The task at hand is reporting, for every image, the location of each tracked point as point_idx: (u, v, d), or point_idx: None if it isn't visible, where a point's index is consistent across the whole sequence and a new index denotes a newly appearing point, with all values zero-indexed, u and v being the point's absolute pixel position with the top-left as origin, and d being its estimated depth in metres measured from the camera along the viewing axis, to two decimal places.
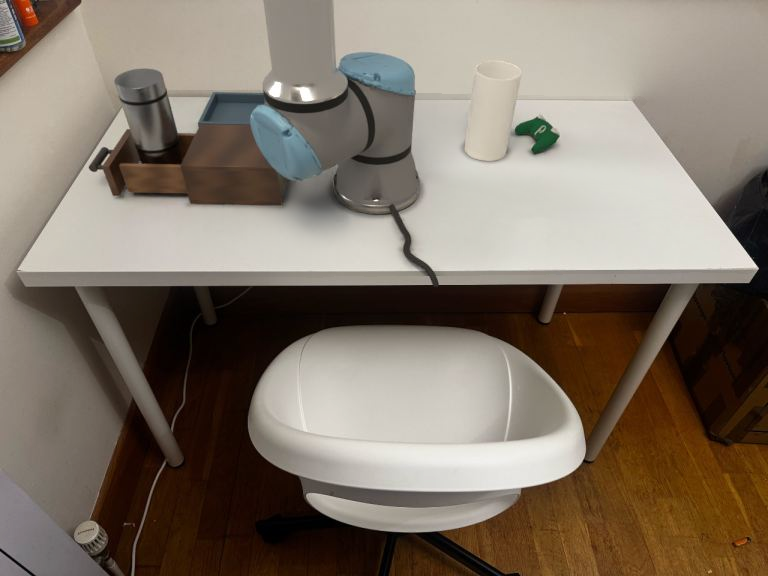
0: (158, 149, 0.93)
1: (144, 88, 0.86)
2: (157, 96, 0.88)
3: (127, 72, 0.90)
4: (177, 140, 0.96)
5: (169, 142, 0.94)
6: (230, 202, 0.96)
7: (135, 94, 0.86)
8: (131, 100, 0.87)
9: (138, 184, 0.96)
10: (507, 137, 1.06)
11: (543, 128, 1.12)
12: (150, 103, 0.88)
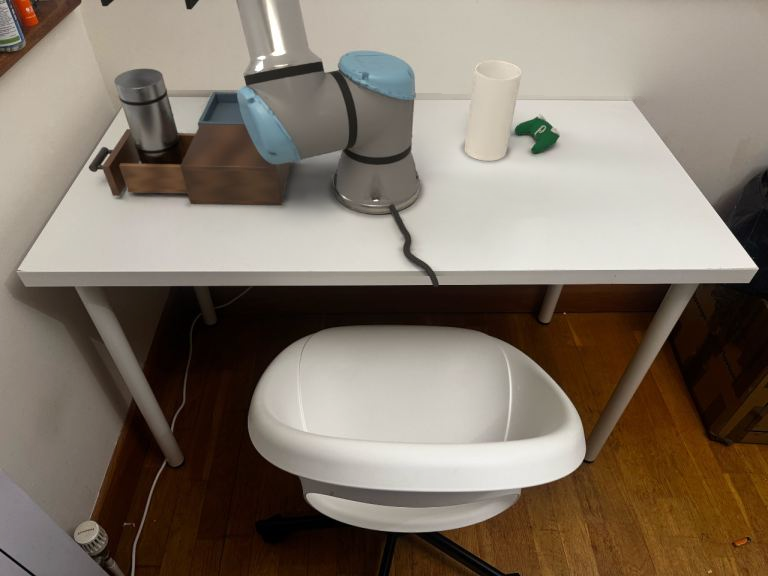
0: (158, 149, 0.93)
1: (144, 88, 0.86)
2: (157, 96, 0.88)
3: (127, 72, 0.90)
4: (177, 140, 0.96)
5: (169, 142, 0.94)
6: (230, 202, 0.96)
7: (135, 94, 0.86)
8: (131, 100, 0.87)
9: (138, 184, 0.96)
10: (507, 137, 1.06)
11: (543, 128, 1.12)
12: (150, 103, 0.88)
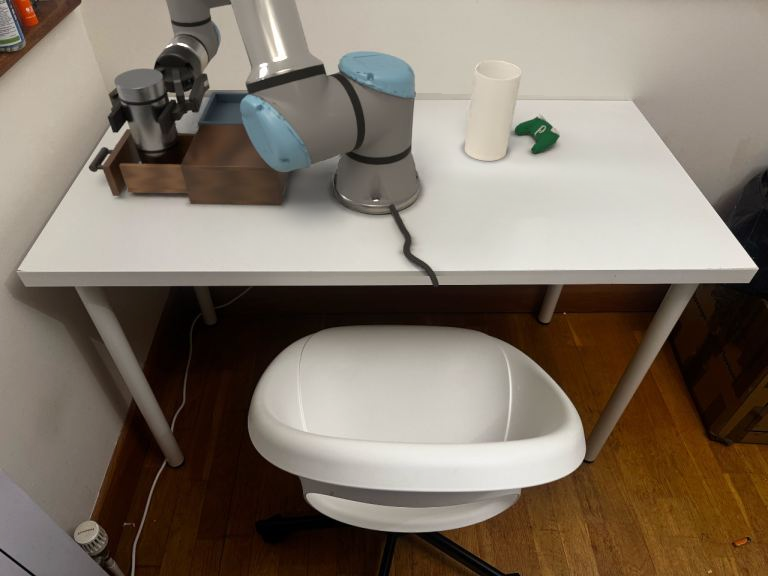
0: (158, 149, 0.93)
1: (144, 88, 0.86)
2: (157, 96, 0.88)
3: (127, 72, 0.90)
4: (177, 140, 0.96)
5: (169, 142, 0.94)
6: (230, 202, 0.96)
7: (135, 94, 0.86)
8: (131, 100, 0.87)
9: (138, 184, 0.96)
10: (507, 137, 1.06)
11: (543, 128, 1.12)
12: (150, 103, 0.88)
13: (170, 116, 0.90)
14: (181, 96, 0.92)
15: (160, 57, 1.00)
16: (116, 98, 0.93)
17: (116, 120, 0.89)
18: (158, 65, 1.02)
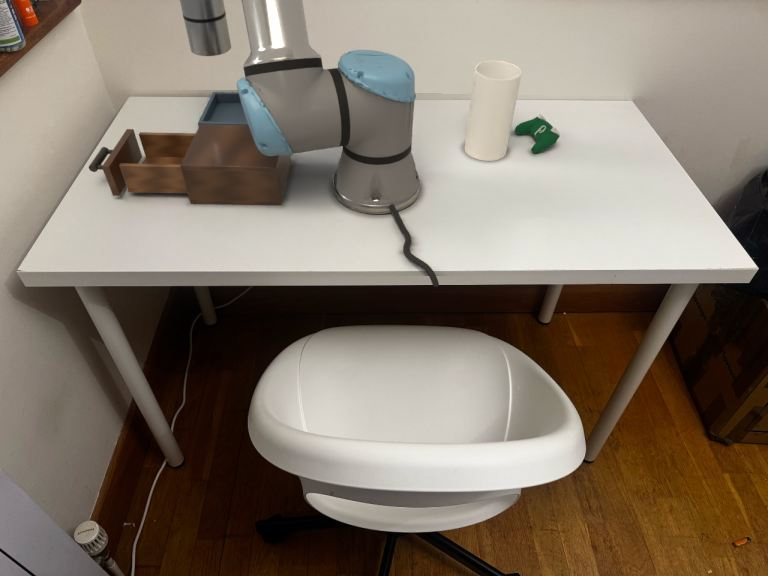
0: (206, 18, 0.96)
1: None
2: None
3: None
4: (224, 12, 0.99)
5: (217, 12, 0.97)
6: (230, 202, 0.96)
7: None
8: None
9: (138, 184, 0.96)
10: (507, 137, 1.06)
11: (543, 128, 1.12)
12: None
13: None
14: None
15: None
16: None
17: None
18: None
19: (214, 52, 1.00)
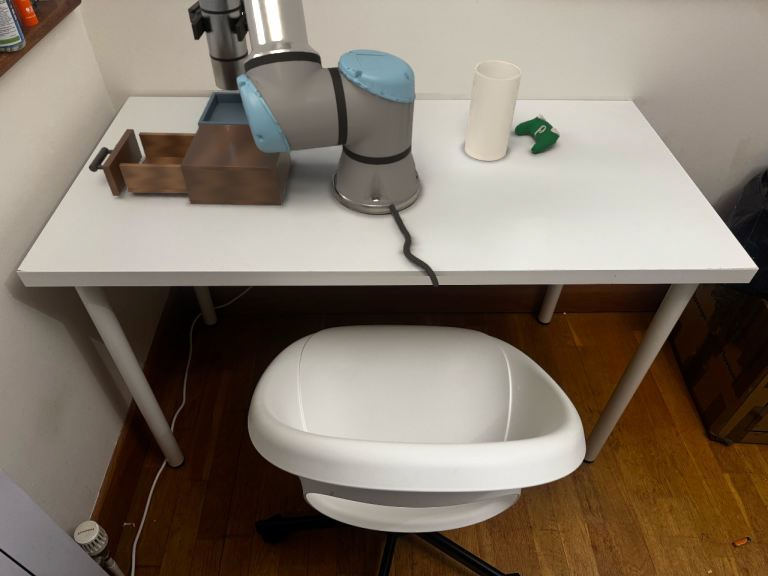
0: (231, 57, 1.06)
1: None
2: (234, 7, 1.01)
3: None
4: (247, 51, 1.08)
5: (241, 52, 1.07)
6: (230, 202, 0.96)
7: (216, 3, 0.99)
8: (212, 9, 1.00)
9: (138, 184, 0.96)
10: (507, 137, 1.06)
11: (543, 128, 1.12)
12: (228, 13, 1.01)
13: (244, 26, 1.03)
14: None
15: None
16: (194, 13, 1.06)
17: (198, 28, 1.02)
18: None
19: (237, 87, 1.10)
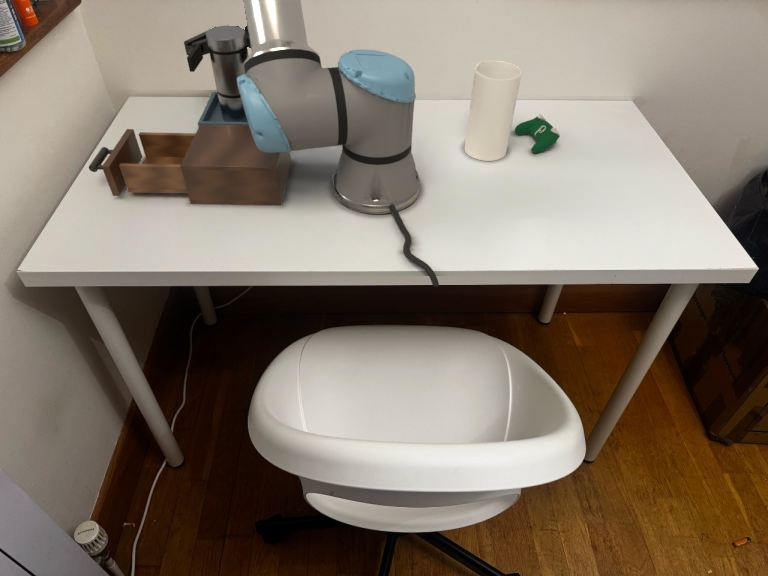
0: (238, 94, 1.11)
1: (231, 40, 1.04)
2: (241, 47, 1.06)
3: (214, 28, 1.07)
4: None
5: None
6: (230, 202, 0.96)
7: (224, 45, 1.04)
8: (220, 50, 1.05)
9: (138, 184, 0.96)
10: (507, 137, 1.06)
11: (543, 128, 1.12)
12: (235, 53, 1.06)
13: None
14: None
15: None
16: (190, 45, 1.12)
17: (193, 61, 1.08)
18: None
19: (243, 121, 1.15)
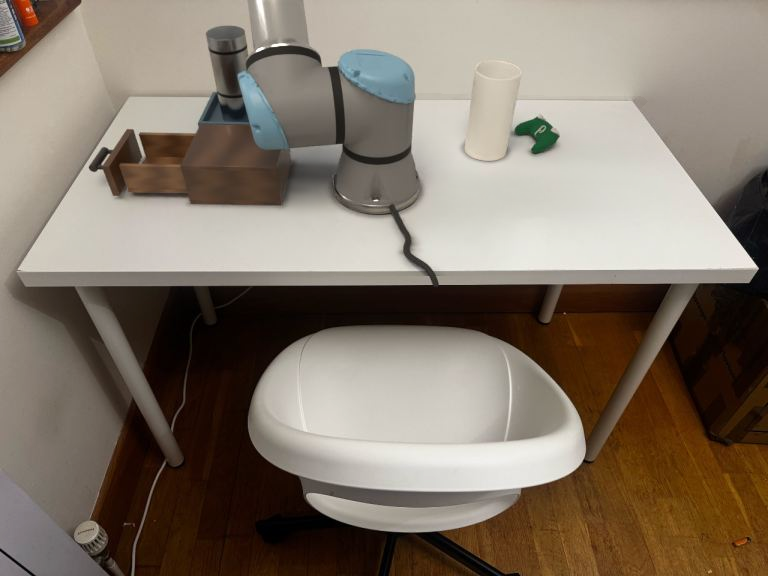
0: (238, 94, 1.11)
1: (231, 40, 1.04)
2: (241, 47, 1.06)
3: (214, 28, 1.07)
4: None
5: None
6: (230, 202, 0.96)
7: (224, 45, 1.04)
8: (220, 50, 1.05)
9: (138, 184, 0.96)
10: (507, 137, 1.06)
11: (543, 128, 1.12)
12: (235, 53, 1.06)
13: None
14: None
15: None
16: None
17: None
18: None
19: (243, 121, 1.15)
